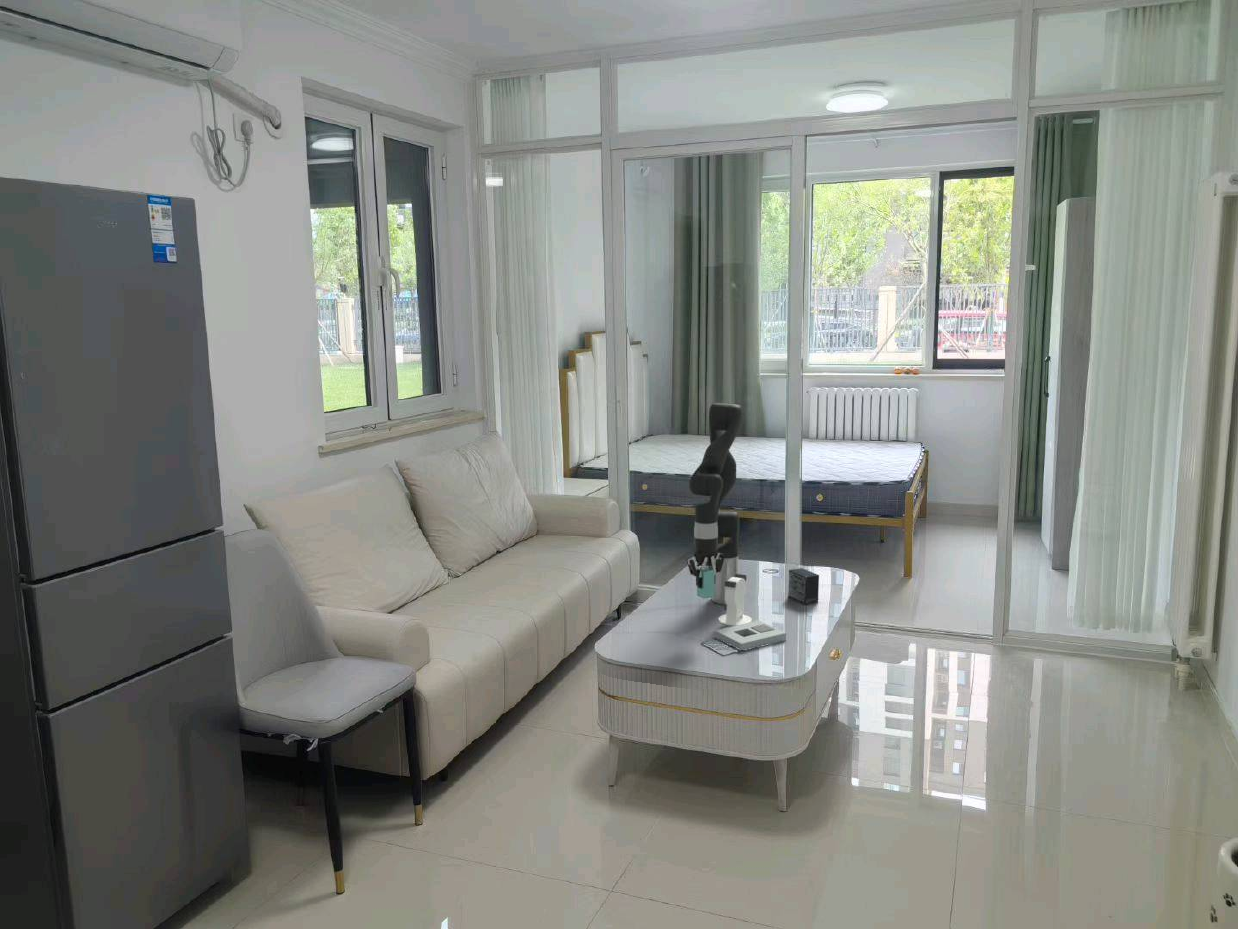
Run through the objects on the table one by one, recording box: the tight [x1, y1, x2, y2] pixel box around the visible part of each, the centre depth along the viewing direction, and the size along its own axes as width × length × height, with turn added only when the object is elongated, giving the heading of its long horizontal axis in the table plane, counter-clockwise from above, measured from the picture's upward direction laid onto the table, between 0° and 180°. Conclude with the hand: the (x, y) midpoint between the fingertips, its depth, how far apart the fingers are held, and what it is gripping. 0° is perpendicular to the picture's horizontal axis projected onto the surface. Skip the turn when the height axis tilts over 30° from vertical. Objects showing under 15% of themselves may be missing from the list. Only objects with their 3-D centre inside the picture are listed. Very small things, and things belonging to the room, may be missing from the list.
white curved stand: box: [718, 573, 753, 627], centre depth 318 cm, size 12×11×15 cm
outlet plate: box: [714, 620, 787, 651], centre depth 301 cm, size 14×18×3 cm
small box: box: [787, 567, 820, 606], centre depth 339 cm, size 11×6×10 cm, turn 25°
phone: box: [700, 638, 736, 650], centre depth 294 cm, size 6×12×1 cm, turn 30°
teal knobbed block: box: [696, 566, 714, 600], centre depth 301 cm, size 4×4×10 cm
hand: (705, 586), depth 301 cm, fingers closed on teal knobbed block, 4 cm apart
